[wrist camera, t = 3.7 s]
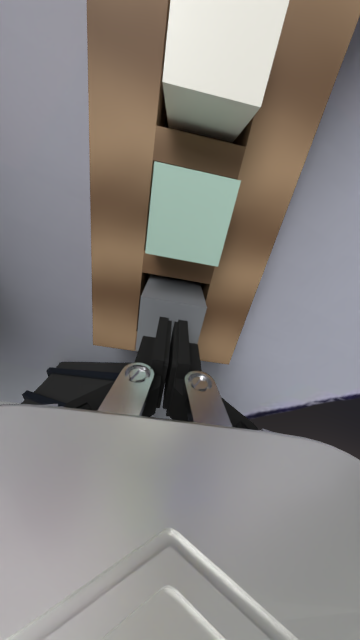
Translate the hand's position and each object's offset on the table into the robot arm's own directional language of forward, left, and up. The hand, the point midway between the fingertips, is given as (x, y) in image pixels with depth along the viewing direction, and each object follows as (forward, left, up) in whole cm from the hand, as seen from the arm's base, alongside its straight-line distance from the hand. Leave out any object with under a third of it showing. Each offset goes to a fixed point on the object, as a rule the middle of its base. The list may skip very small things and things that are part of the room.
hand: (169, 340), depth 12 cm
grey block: (0, 0, -6) cm, 6 cm away
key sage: (-7, 0, -6) cm, 9 cm away
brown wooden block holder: (-7, 0, -10) cm, 12 cm away
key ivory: (-13, 0, -6) cm, 14 cm away
